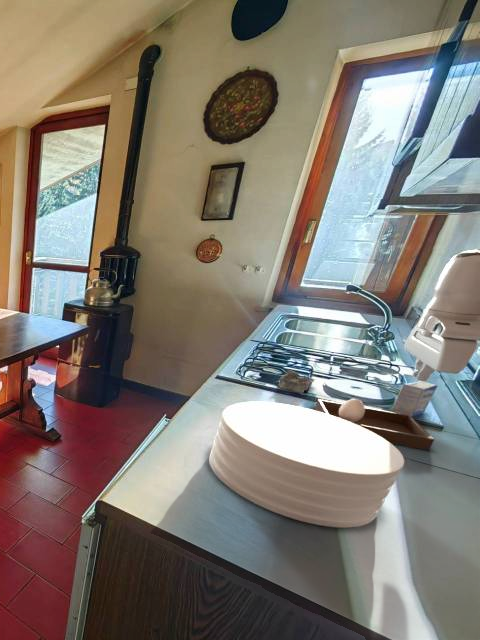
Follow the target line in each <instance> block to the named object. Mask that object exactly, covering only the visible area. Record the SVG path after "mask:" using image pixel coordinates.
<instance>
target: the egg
mask: <svg viewBox="0 0 480 640" xmlns="http://www.w3.org/2000/svg"><path fill="white" fill-rule="evenodd" d="M365 408H366V407H365V404H364V402H363V401H361V400H360V399H358V398H352V399H348V400H346V401H345V402H344V403H342V405H341V407H340V409H339V416H340V418H341V419H344V420H346V421H349V422H351V423H353V422H356V421H359V420H360V419H361V418H362V417H363V416H364V413H365Z"/></svg>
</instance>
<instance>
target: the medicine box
mask: <svg viewBox="0 0 480 640" xmlns="http://www.w3.org/2000/svg"><path fill="white" fill-rule="evenodd" d="M437 388H438V385H437V384H435V383H430V382H427V381H421V380H414V381H412V382H411V381H410V382H408V383H405V384H402V386H401V388H400V390H399V393H398V394H397V397H396V399H395V401H394V403H393V405H392V408H391V410H390V412H394V413H399V414H405V415H410V416H411V417H412V418H414V417H415V416H419V415H420V414H423V413H425V411H426V409H427V407H428V405H429V404H430V402H431V401H432V398H433V396H434V394H435V392H436V391H437Z"/></svg>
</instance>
